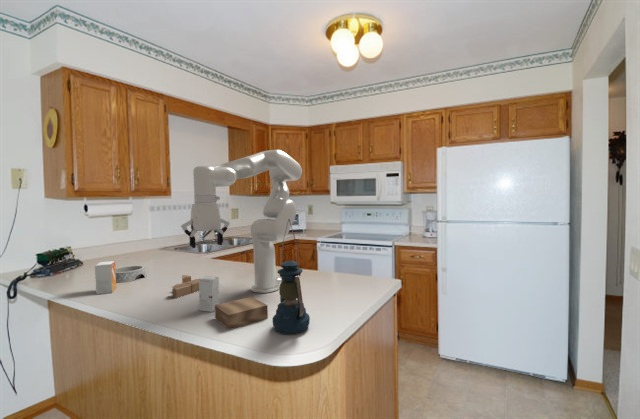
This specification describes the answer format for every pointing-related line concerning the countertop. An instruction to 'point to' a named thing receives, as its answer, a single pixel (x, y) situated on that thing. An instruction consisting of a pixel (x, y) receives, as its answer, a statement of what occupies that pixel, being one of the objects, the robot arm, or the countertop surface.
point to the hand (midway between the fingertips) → (206, 246)
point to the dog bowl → (129, 273)
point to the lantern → (290, 299)
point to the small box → (105, 277)
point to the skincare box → (208, 293)
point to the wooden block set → (185, 287)
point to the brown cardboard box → (241, 312)
